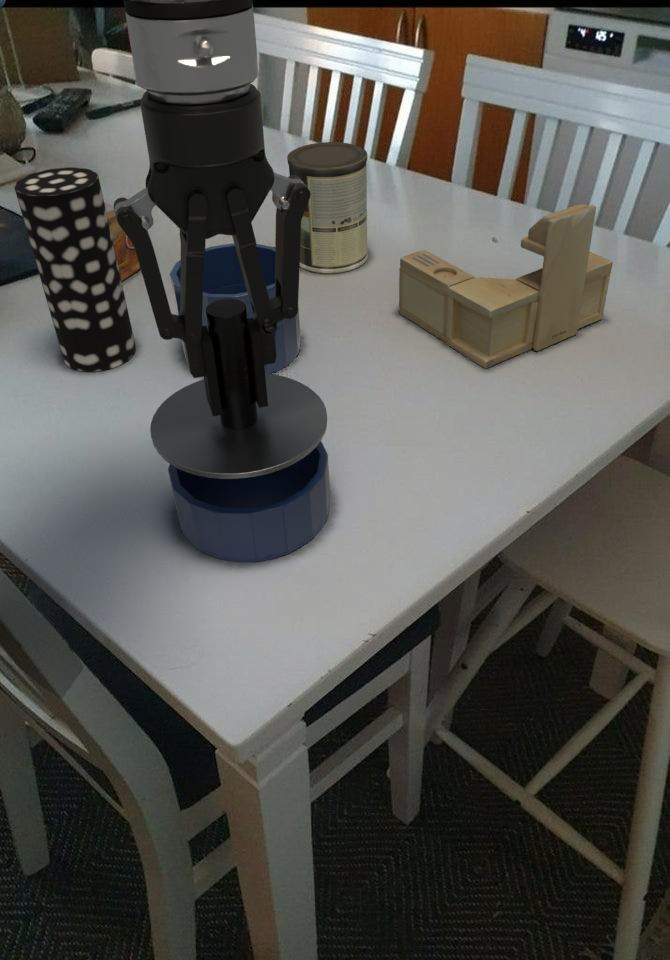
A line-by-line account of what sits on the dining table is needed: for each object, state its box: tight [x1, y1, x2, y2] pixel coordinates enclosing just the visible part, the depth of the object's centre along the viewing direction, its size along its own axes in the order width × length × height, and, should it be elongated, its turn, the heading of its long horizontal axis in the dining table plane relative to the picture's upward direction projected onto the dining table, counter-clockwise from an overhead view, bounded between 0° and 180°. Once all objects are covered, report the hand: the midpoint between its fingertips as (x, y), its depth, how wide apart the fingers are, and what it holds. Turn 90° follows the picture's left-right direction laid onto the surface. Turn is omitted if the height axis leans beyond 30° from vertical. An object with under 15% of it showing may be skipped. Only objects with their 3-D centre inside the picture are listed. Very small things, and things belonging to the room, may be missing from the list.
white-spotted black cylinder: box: [13, 166, 137, 373], centre depth 88 cm, size 8×8×20 cm
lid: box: [149, 299, 328, 479], centre depth 63 cm, size 14×14×11 cm
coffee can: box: [286, 141, 369, 275], centre depth 108 cm, size 10×10×14 cm
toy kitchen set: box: [398, 203, 614, 369], centre depth 93 cm, size 18×17×15 cm
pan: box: [167, 440, 331, 563], centre depth 71 cm, size 13×13×5 cm
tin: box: [106, 209, 141, 283], centre depth 107 cm, size 15×3×8 cm, turn 153°
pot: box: [169, 242, 302, 374], centre depth 91 cm, size 13×13×10 cm
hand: (237, 401), depth 65 cm, fingers closed on lid, 3 cm apart
